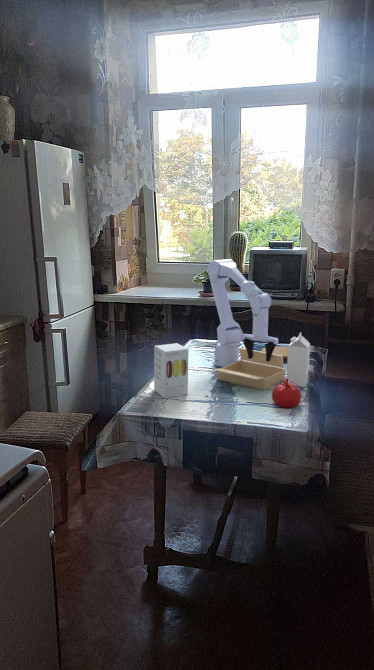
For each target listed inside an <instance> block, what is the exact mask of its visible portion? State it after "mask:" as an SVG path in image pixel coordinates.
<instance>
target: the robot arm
mask: <svg viewBox="0 0 374 670" xmlns="http://www.w3.org/2000/svg"><path fill="white" fill-rule="evenodd" d="M207 273H208V276H209V280H210V285H211V290H212V293H213V298H214V300H215V306H216V309H217V314H218V318H219V321H220V324H219V325H218V327H217V328H216V332H217V335H216V337H217V341H218V343H217V344H216V345H215V349H214V363H213V366H216V367H221V368H223V367H225V366H228V365H230V364H232V363H234V362H236V361H239V356H240V350H239V348H240V347H239V346H240V345H241V342H242V343H243V345H244V349H246V350H247V353H248V358H249V359H251V358H253V350H254V346H255V342H262V343H265V344H264V348H266V362H269V361H270V359H271V356H272V353H273V350H274V348H275V347H276V346H277V344H279V338H278V337H273V336H269V335H268V333H269V332H268V329H269V308H270V307H271V306H272V303H273V299H272V297H271V295H270V294H269V293H268V292H264V291H262V289H260V288H259V286H257V285H256V283H255V281H252V280H247V279H246V277H245V276H244V275H243V274H242V273H241V271H240V270H239V268H238V267H237V263H236V262H234V260H233V259H232V258H227V259H213V260H210V262H209V264H208V267H207ZM229 278H230V279H231V280H233V281H234V282H235V284H237V286H239V287H240V292H241V293H242V295H244V297H246V299H248V301H249V305H250V307H251V312H252V334H251V333H250V334H249V333H244V331H243V330H242V328H241V326H240V324H239V322H236V321H235V320H234V317H233V313H232V309H231V305H230V301H229V296H228V291H227V288H226V286H225V283H226V282H227V281H228V280H229Z"/></svg>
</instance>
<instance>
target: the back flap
mask: <svg viewBox="0 0 374 670" xmlns="http://www.w3.org/2000/svg"><path fill="white" fill-rule="evenodd" d="M239 357H240V360H244V361H249V362H254V363H259V364H264V365H269V366H274V367H279V368H284V369H285V365H284V362H283V357H282V355H276V354H272V356H271V359H270V361H269V362H266V352H261V350H260V351H259V350H254V349H253V358H251V359H249V358H248V353H247V350H246V348H245V347H244V348H243V347H239Z"/></svg>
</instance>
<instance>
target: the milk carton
mask: <svg viewBox="0 0 374 670" xmlns="http://www.w3.org/2000/svg"><path fill="white" fill-rule="evenodd" d="M310 347H311V343H310V342H309V340H308V339H306V338H305V337H304V336H303V335H302V332H300V333H299V334H298V336H297V337H296V336H293V337H292V338H290V343H289V345H288V361H287V362H286V363H287V364H286V378H288V383H289V382H291V381H292V382H291V383H290V384H293V385H295V386H296V387H302V388H306V387H307V384H308V379H309V366H310V365H309V364H310V349H311V348H310ZM293 382H294V383H295V384H294V383H293ZM297 384H298V385H297Z"/></svg>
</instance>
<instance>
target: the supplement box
mask: <svg viewBox="0 0 374 670" xmlns="http://www.w3.org/2000/svg"><path fill="white" fill-rule="evenodd" d="M153 350H154V353H153V354H154V356H153V358H154V361H153V367H154V369H153V370H154V373H153V374H154V375H153V376H154V378H153V380H154V381H153V382H154V383H153V391H154V392H155V393H157V394H158V395H160V396H161V397H162V398H164V399H168V398H175V397H180V396H181V397H182V396H185V395H186V396H187V395H188V394H189V348H187V347H186V346H184V345H181V344H179V343H177V342H176V343H175V342H174V343H166V344H158V345H157V344H156V345H154V346H153Z"/></svg>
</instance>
